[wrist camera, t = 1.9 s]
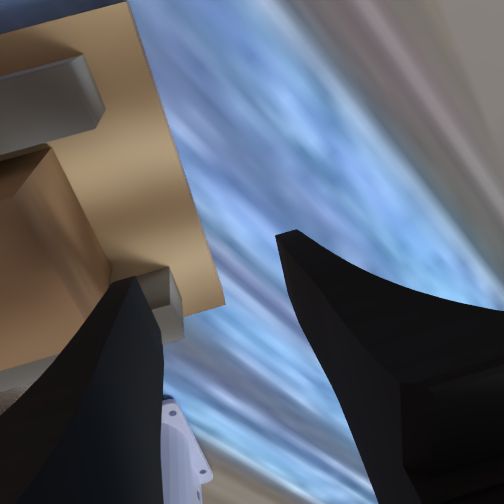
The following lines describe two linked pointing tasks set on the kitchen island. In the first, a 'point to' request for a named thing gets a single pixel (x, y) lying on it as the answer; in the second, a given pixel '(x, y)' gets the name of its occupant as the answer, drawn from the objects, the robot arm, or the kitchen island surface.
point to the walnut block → (44, 260)
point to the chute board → (109, 158)
